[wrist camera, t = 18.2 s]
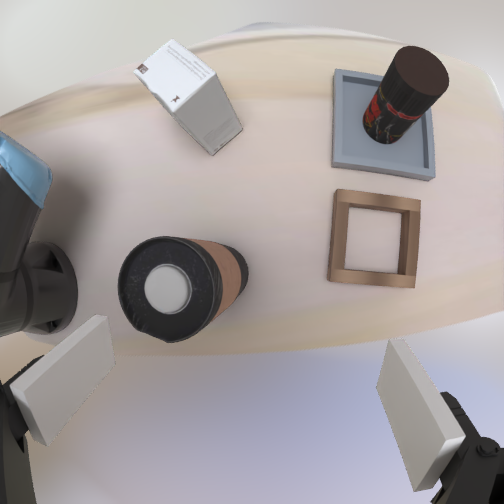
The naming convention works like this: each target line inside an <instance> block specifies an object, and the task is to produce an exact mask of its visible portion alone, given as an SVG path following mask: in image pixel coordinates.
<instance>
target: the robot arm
mask: <svg viewBox="0 0 504 504" xmlns="http://www.w3.org/2000/svg"><path fill="white" fill-rule="evenodd" d="M51 183H52V172H51V170H50V168H49V167H48V165H47V164H46V163H45V162H43V161H42V160H41V159H40V158H38V157H37V156H36V155H34V154H33V153H32V152H30V151H29V150H28V149H26V148H25V147H23V146H22V145H21V144H19V143H18V142H16V141H15V140H13V139H12V138H11V137H9V136H8V135H6V134H4V133H3V132H1V131H0V337H2V336H5V335H9V334H12V333H15V332H18V331H24V332H30V333H35V334H41V335H48V334H52V333H55V332H58V331H61V330H62V329H64V328H65V327H66V326H67V325H68V324H69V323H70V321H71V319H72V317H73V315H74V312H75V309H76V304H77V283H76V277H75V274H74V270H73V268H72V265H71V263H70V261H69V259H68V258H67V256H66V255H65V253H64V252H63V251H62V250H61V249H60V248H59V247H57V246H56V245H54V244H52V243H49V242H31V243H29V244H28V242H29V239H30V237H31V234H32V231H33V229H34V226H35V224H36V221H37V219H38V216H39V214H40V211H41V209H43V208H44V201H45V198H46V195H47V193H48V190H49V188H50V186H51ZM115 364H116V362H115V357H114V351H113V345H112V339H111V333H110V326H109V319H108V316H102V315H96V314H95V315H94V316H93V317H92V318H90V319H89V320H88V321H86V322H85V323H84V324H83V325H81V326H80V327H79V328H78V329H76V330H75V331H74V332H73V333H71V334H70V335H69V336H68V337H66V338H65V339H64V340H63V341H62V342H60V343H59V344H58V345H57V346H55V347H54V348H53V349H52V350H51V351H49V352H48V353H47V354H46V355H42V356H40V357H38V358H35V359H33V360H32V361H31V362H30V363H29V364H27V366H25V367H24V368H23V369H21V371H19V372H18V373H17V374H15V375H14V376H13V377H12V378H11V379H9V380H8V381H7V382H6V383H5V384H3V385H2V383H1V380H0V504H37V503H36V498H35V493H34V488H33V482H32V476H31V470H30V462H29V454H28V445H27V439H26V437H25V433H26V432H27V431H28V430H29V431H30V433H31V435H32V437H33V439H34V440H35V441H37V442H39V443H41V444H43V445H45V446H47V447H48V446H49V444H50V443H51V442H52V441H53V440H54V438H55V437H56V436H57V435H58V433H59V432H60V431H61V430H62V429H63V427H64V426H65V425H66V423H67V422H68V421H69V420H70V419H71V417H72V416H73V415H74V414H75V412H76V411H77V410H78V409H79V408H80V406H81V405H82V404H83V403H84V402H85V400H86V399H87V398H88V397H89V396H90V394H91V393H92V392H93V391H94V389H95V388H96V387H97V386H98V385H99V383H100V382H101V381H102V380H103V379H104V377H105V376H106V375H107V374H108V373H109V371H110V370H111V369H112V368H113V367H114V366H115ZM376 389H377V391H378V393H379V396H380V399H381V401H382V404H383V407H384V409H385V412H386V414H387V417H388V420H389V422H390V425H391V428H392V430H393V433H394V436H395V439H396V441H397V444H398V447H399V449H400V453H401V455H402V458H403V461H404V464H405V467H406V470H407V473H408V476H409V479H410V482H411V485H412V488H413V491H414V492H417V491H421V490H426V489H431V488H433V487H434V485H435V484H436V482H437V481H438V479H439V478H440V480H441V483H442V487H441V489H440V490H439V491H438V493H437V494H436V495H435V497H434V498H433V499H432V500H431V503H432V504H504V448H500V446H499V444H498V443H497V442H495V441H494V440H492V439H490V438H487V437H481V436H480V435H479V433H478V432H477V430H476V429H475V427H474V425H473V424H472V422H471V421H470V419H469V418H468V416H467V415H466V413H465V411H464V410H463V409H462V408H461V405H460V404H459V402H458V401H457V399H456V398H455V397H453V396H452V395H451V394H449V393H448V392H441V393H439V391H438V390H437V388H436V386H435V385H434V383H433V382H432V380H431V379H430V377H429V376H428V374H427V373H426V371H425V370H424V368H423V366H422V365H421V364H420V362H419V361H418V359H417V358H416V356H415V355H414V353H413V352H412V350H411V349H410V347H409V346H408V344H407V343H406V342H405V340H404V339H389V341H388V345H387V349H386V353H385V357H384V361H383V365H382V368H381V372H380V376H379V379H378V383H377V386H376Z"/></svg>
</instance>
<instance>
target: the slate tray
mask: <svg viewBox="0 0 504 504" xmlns="http://www.w3.org/2000/svg"><path fill="white" fill-rule="evenodd" d="M383 78H384V76H379V75H374V74H368V73H362V72H356V71H349V70H342V69H335V72H334V76H333V139H332V167H336V168H344V169H352V170H360V171H368V172H375V173H382V174H388V175H395V176H401V177H407V178H413V179H419V180H424V181H429V180H431V179H433V178H435V177H436V176H435V150H434V135H433V123H432V113H431V107H430V108H429V109H428V110H427V111H426V112H425V113H424V114H423V115H422V116H421V117H420V118H419V119H418V120H417V121H416V123H415V124H414V125H413V126H412V127H411V128H410V129H409V130H408V131H407V132H406V133H405V134H404V135H403V136H402V137H401V138H400V139H399V140H398V141H396V142H395V143H392V144H381V143H378V142H376V141H374V140H373V139H372V138H370V136H369V135H368V134H367V133H366V131H365V129H364V127H363V115H364V113H365V111H366V109H367V107H368V105H369V104H370V102H371V100H372V98H373V96H374V94H375V92H376V91H377V89H378V87H379V85H380V83H381V81H382V79H383Z"/></svg>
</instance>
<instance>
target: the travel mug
mask: <svg viewBox="0 0 504 504" xmlns="http://www.w3.org/2000/svg"><path fill="white" fill-rule="evenodd" d="M247 280H248V267H247V264H246V261H245V259H244V258H243V256H242V255H241V254H240V253H239V252H238V251H236V250H235V249H233V248H231V247H228V246H226V245H222V244H219V243H216V242H211V241H204V240H196V239H187V238H179V237H169V236H162V237H155V238H151V239H148V240H146V241H144V242H142V243H140V244H139V245H137V246H136V247H135V248H134V249H133V250H132V251H131V252H130V253H129V254H128V256H127V257H126V259H125V260H124V262H123V264H122V267H121V270H120V273H119V278H118V295H119V300H120V304H121V307H122V309H123V312H124V314H125V315H126V317H127V319H128V320H129V322H130V323H131V324H132V326H133V327H134V328H135V329H136V330H138V331H140V332H144V333H146V334H149V335H151V336H153V337H156V338H158V339H161V340H163V341H165V342H166V343H174V342H179V341H183V340H185V339H188V338H190V337H192V336H194V335H195V334H197V333H198V332H199V331H201V330H202V329H203V328H204V327H205V326H207V325H208V324H209V323H210V322H211V321H213V320H214V319H215V318H216V317H217V316H218V315H220V314H221V313H222V312H223V311H224V310H225V309H227V308H228V307H229V306H230V305H231V304H232V303H233V302H234V301H235V299H236V298H237V297H238V296H239V295H240V293H241V292H242V291H243V289H244V288H245V286H246V283H247Z"/></svg>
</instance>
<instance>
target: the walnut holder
mask: <svg viewBox="0 0 504 504" xmlns="http://www.w3.org/2000/svg"><path fill="white" fill-rule="evenodd" d="M349 207H357V208H365V209H373V210H381V211H389V212H397V213H402V221H401V238H400V251H399V263H398V273H397V274H394V273H382V272H371V271H360V270H349V269H344V263H345V253H346V241H347V228H348V213H349ZM420 209H421V200H417V199H411V198H404V197H397V196H390V195H383V194H376V193H368V192H360V191H352V190H344V189H337V190H336V191H335V193H334V201H333V216H332V230H331V242H330V253H329V264H328V274H327V280H329V281H330V282H341V283H353V284H365V285H378V286H390V287H403V288H415V281H416V271H417V261H418V248H419V233H420Z"/></svg>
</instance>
